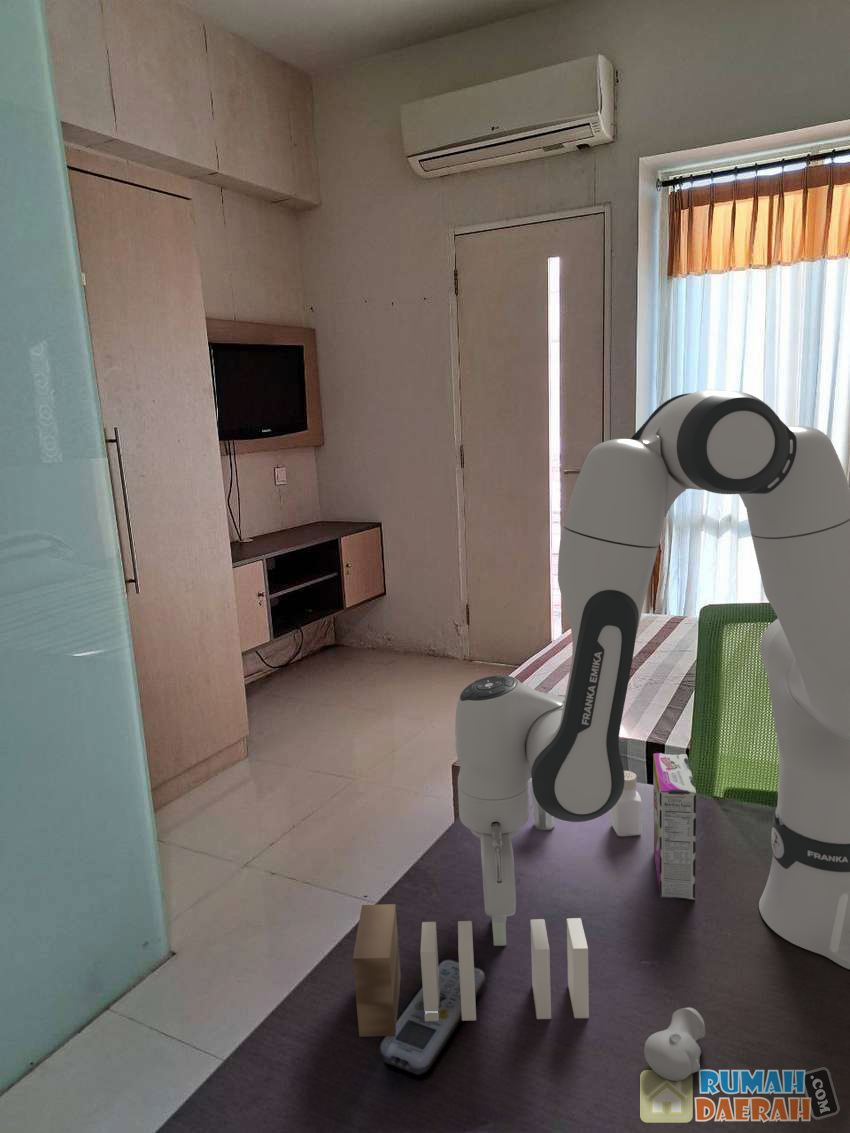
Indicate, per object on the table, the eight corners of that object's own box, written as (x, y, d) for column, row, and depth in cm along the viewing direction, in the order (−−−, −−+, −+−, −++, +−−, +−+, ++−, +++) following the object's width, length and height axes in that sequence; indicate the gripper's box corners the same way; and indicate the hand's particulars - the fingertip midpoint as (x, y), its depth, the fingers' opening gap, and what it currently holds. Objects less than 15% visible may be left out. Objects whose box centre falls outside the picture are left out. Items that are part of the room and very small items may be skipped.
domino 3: (503, 919, 104) (501, 859, 102) (506, 945, 99) (503, 882, 97) (491, 919, 104) (489, 859, 102) (493, 945, 99) (491, 883, 97)
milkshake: (521, 822, 127) (519, 766, 125) (550, 815, 128) (549, 759, 126) (533, 836, 123) (531, 778, 121) (563, 829, 124) (562, 772, 122)
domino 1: (439, 987, 93) (435, 921, 91) (438, 1021, 88) (434, 951, 86) (426, 988, 93) (422, 922, 91) (424, 1021, 88) (420, 952, 86)
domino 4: (545, 985, 92) (544, 919, 90) (551, 1018, 87) (549, 949, 85) (532, 985, 92) (530, 919, 90) (536, 1019, 87) (534, 949, 85)
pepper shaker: (609, 824, 125) (609, 770, 123) (634, 822, 125) (634, 768, 123) (617, 838, 121) (617, 782, 119) (642, 836, 121) (643, 780, 119)
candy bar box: (651, 852, 117) (652, 751, 113) (686, 854, 116) (688, 752, 112) (657, 899, 106) (658, 789, 103) (696, 902, 105) (698, 791, 102)
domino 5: (581, 984, 92) (580, 918, 90) (588, 1018, 87) (588, 948, 85) (568, 985, 92) (566, 918, 90) (574, 1018, 87) (573, 948, 85)
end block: (400, 976, 95) (395, 904, 93) (395, 1035, 86) (389, 957, 84) (368, 977, 95) (362, 905, 93) (359, 1036, 86) (352, 958, 84)
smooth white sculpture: (673, 1104, 78) (632, 1061, 81) (715, 1056, 83) (675, 1018, 86) (685, 1079, 76) (642, 1036, 79) (728, 1031, 81) (686, 993, 84)
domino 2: (474, 987, 93) (471, 920, 91) (476, 1020, 88) (472, 951, 86) (461, 987, 93) (458, 921, 91) (461, 1020, 88) (458, 951, 86)
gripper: (526, 850, 87) (529, 956, 90) (512, 765, 107) (515, 854, 110) (470, 851, 88) (475, 958, 91) (467, 766, 108) (471, 856, 111)
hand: (497, 900), depth 101 cm, fingers open, 6 cm apart
